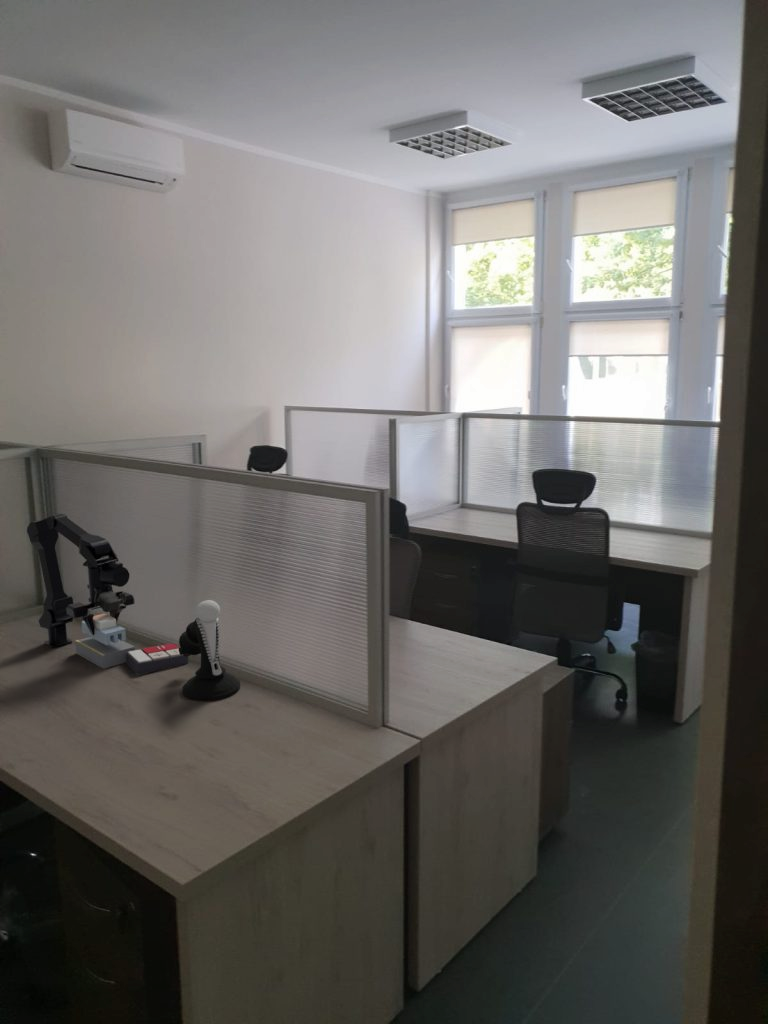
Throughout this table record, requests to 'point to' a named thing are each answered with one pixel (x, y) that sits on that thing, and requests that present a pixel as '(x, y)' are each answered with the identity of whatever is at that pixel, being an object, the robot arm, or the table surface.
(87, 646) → the dock
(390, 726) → the table surface
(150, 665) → the grey red white box
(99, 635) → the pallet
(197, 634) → the sculpture
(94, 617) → the salmon brown block
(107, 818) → the table surface
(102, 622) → the off-white block
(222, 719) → the table surface
